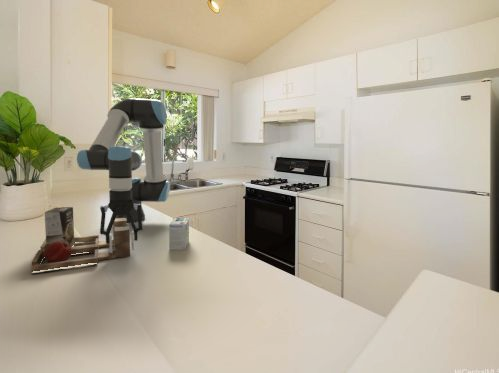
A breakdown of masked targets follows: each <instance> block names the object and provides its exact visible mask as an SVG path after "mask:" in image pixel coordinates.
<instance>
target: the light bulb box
mask: <svg viewBox="0 0 499 373" xmlns="http://www.w3.org/2000/svg"><path fill="white" fill-rule="evenodd" d="M168 234H169V236H168V246H169V247H168V249H169V251H173V250H174V251H186V249H187V247H188V244H189V242H190V239H189V238H190V218H189V217H173V219H172V221H171V222H170V223H169V226H168Z"/></svg>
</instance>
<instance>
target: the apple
mask: <svg viewBox="0 0 499 373" xmlns="http://www.w3.org/2000/svg"><path fill="white" fill-rule="evenodd" d="M71 252H72V248H71V247H70V245H69V244H67V243H65V242H62V241H56V242H53V243H51V244H50V245H49V246H47V247H46V249H45V250H44V257H45V259H44V260H46V261H47V263H53V262H61V261H69V259H70V257H71V256H70V255H71Z"/></svg>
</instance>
